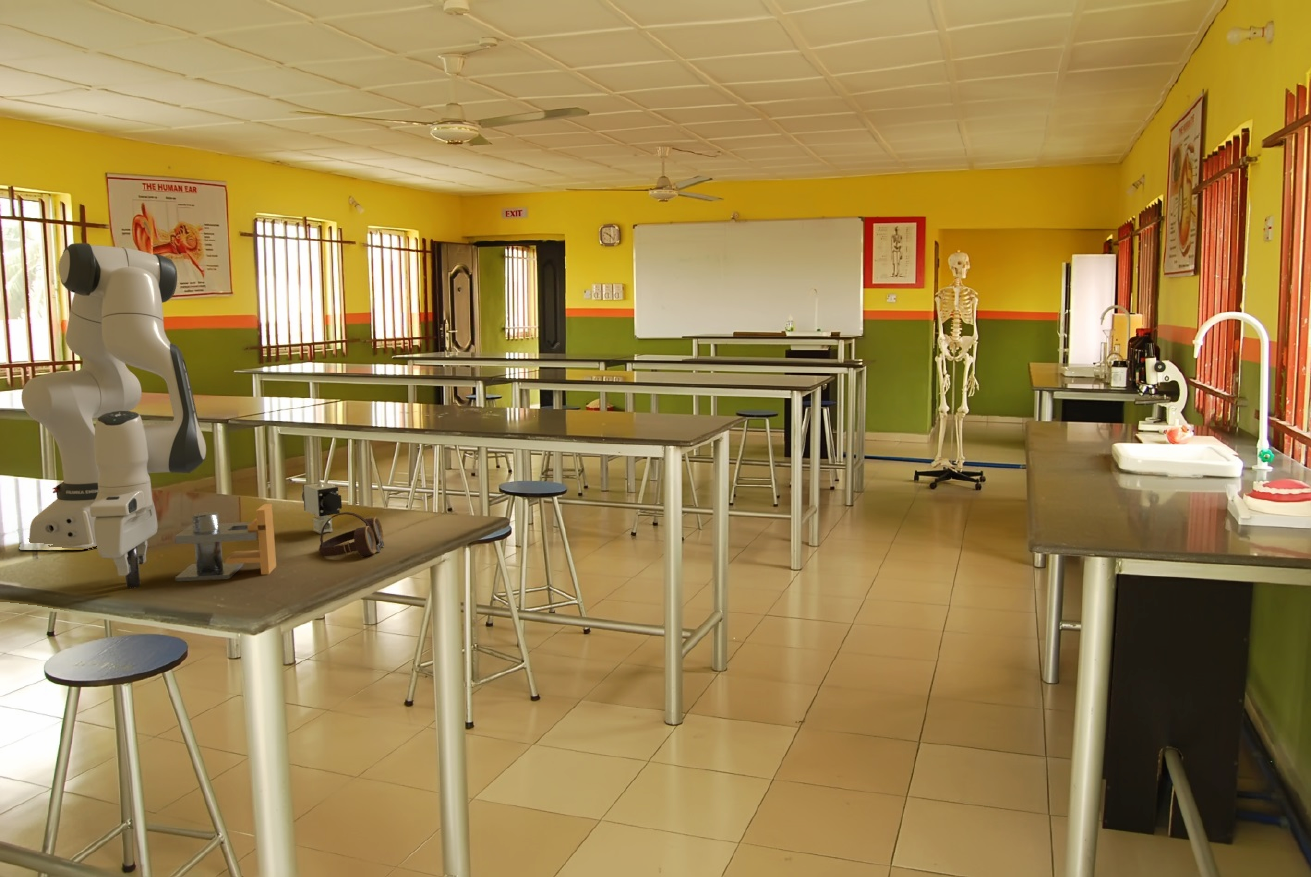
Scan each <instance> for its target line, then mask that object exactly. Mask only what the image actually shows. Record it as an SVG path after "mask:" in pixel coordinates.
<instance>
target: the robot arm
mask: <svg viewBox="0 0 1311 877" xmlns="http://www.w3.org/2000/svg"><path fill="white" fill-rule="evenodd" d="M57 269H58V273H59V274H58V275H59V279H60V282H61V284H62V286H63V287H64V288H65V289H66V290H67V291H69V292H72V293H74V294H73V298H72V301H71V306H70V312H69V317H68V320H67V327H66V333H65V343H66V345H67V347H68V348H69V350H70V351H71V352H72V353H73V354H75V355H77V357H80V358H81V359H82V367H81V368H80V369H79V370H68V371H67V370H65V371H57V372H56V371H55V372H49V373H45V374H41V375H38V376H36V377H32V378H30V379H28V380H27V381H26V383H25V385H24V386H23V389H22V391H21V403H22V407H23V409H24V410H25V413H27V415H28V416H29V417H30V418H31V419H33V420H34V421H36V422H37V423H40V424H41V425H42V426H43V427H45V429H47V431H48V432H49V433H50V434H51V436H52V438H54V441H55V443H56V445H57V447H58V451H59V456H60V461H61V468H62V469H61V470H62V475H63V481H61V483H59V484H57V485H56V486H55V487H53V488H52V490H53V491H52V493H53V494H55V493H56V499H55V500H54V501H52V502H51V503H50V504H49V505H48V506H47V507H45V508H44V509H43V510H42V511H41V512H39V513H38V514H37V515H36V516H34V517H33V519H32V521H31V524H30V527H29V537H28V539H29V542H30V543H44V544H53V545H51V546H50V545H48V546H49V547H62V548H87V547H88V548H89V547H92V546H97V547H96V548H97V549H96V550H97V553H98V555H99V556H100V558H102V559H112V560H113V562H114V564H115V566H116V568H117V570H116V571H117V575H118V576H120V577H125V576H126V575H128V574H129V573H130V572H131V570H130V564H128V561H127V557H128V553H127V552H128V551H130V550H131V549H133V548H135V547H136V546H137V552H138V563H139V565H144V564H145V563H146V562H147V556H146V555H147V550H148V544H149V543H148V539H150V538H151V537H153V536H155V535H156V534H157V532H158V520H157V512H156V507H155V502H154V500H153V494H152V484H151V481H152V480H151V477H150V475H149V474H153V473H154V474H155V473H156V474H157V473H158V474H159V473H172V474H173V473H174V474H175V473H176V474H177V473H179V474H190V473H192V472H193V471H194V470H196V469H197V468H198V467H200V466H201V465H202V464H203V463H204V462H205V460H206V454H207V446H206V440H205V437H204V434H203V432H202V430H201V426H200V423H199V418H198V414H197V410H196V409H197V408H196V405H195V399H194V395H193V390H192V386H191V382H190V376H189V372H188V370H187V369H188V368H187V365H186V360H185V358H184V355H183V353H182V351H181V349H180V347H179V346H177V345H176V344H173V343H171V342H170V339H169V338H168V336H167V333H166V332H165V326H164V308H163V303H166V302H168V301H169V300H170V299H172V298H173V297H174V294H175V292H176V289H177V287H178V279H179V278H178V271H177V267H176V265H175V263H174V262H173V260H172V259H171V258H168V257H166V256H164V255H161V254H158V253H153V254H152V253H149V252H145V251H143V250H138V249H134V248H129V247H125V246H124V247H119V246H117V247H116V246H110V245H109V246H108V245H100V244H99V245H95V244H93V245H92V244H90V243H88V242H87V243H86V242H79V243H71V244H69V245H68V246H67V247H65V248H64V250H63V252H62V254H61V256H60V257H59V262H58V268H57ZM127 365H128V366H131V367H132V368H133V367H134V368H136V369H139V370H143V371H146V372H150V373H153V374H155V375H157V376H159V377H160V378H162V379H164V381H165V382H166V383H165V384H166V386H167V390H168V395H169V399H170V401H169V402H170V406H171V409H172V415H173V420H172V421H171V422H169V423H168V422H167V423H154V424H153V423H151V424H147V423H146V424H144V423H143V420H142V417H141V415H140V414H139V413H138V412H136V411H132V410H134V409H136V408H137V406H138V405H139V403H140V402H141V399H142V386H141V382H140V380H139V379H138V377H137V376H136V375H135V374H134V373H133V372H131V370H130V369H129V368H128V367H127ZM93 419H96V420H95V425H94V422H93Z"/></svg>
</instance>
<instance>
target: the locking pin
mask: <svg viewBox="0 0 1311 877" xmlns="http://www.w3.org/2000/svg"><path fill="white" fill-rule="evenodd" d="M127 553H128V557H127V561H128V564H130V570H131V572H130V573H129V574H128V575H126V576H124V577H125V585H126V587H129V588H128V589H135V588H134V587H136V588H139V587H141V575H140V566H139V565H140V564H139V563H138V552H137V546H136V547H135V548H133V549H131V550H130V551H128V552H127ZM130 587H131V588H130ZM132 587H133V588H132Z"/></svg>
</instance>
